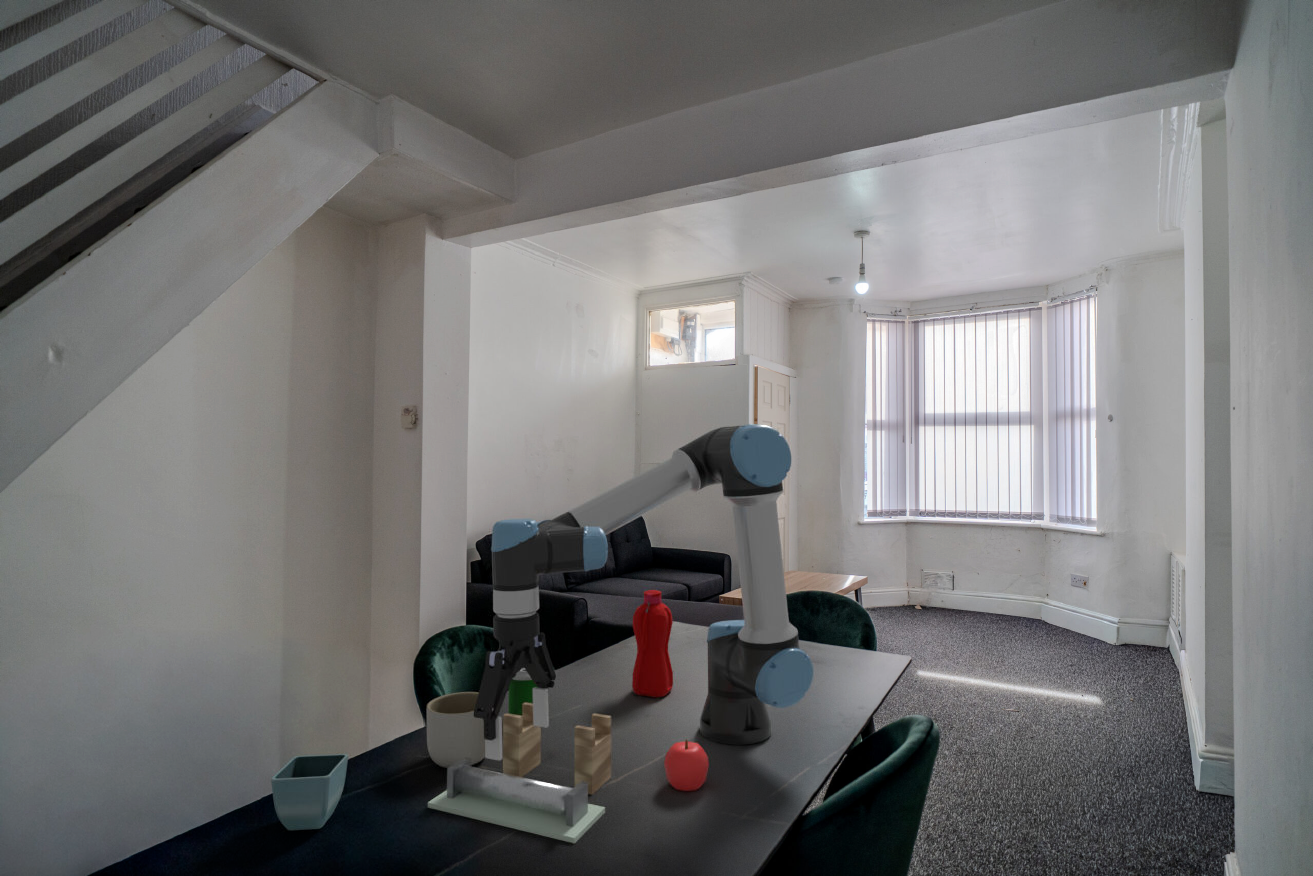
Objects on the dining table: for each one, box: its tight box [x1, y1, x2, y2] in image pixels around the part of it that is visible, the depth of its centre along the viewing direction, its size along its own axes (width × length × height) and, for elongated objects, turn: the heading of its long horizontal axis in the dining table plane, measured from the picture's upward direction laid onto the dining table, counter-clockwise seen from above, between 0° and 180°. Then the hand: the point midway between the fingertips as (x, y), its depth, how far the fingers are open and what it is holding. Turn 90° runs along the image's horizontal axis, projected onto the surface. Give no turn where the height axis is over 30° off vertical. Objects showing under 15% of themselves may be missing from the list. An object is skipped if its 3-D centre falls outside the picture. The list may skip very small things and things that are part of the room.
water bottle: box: [631, 589, 674, 698], centre depth 172 cm, size 9×11×25 cm
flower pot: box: [270, 753, 349, 831], centre depth 111 cm, size 9×9×9 cm
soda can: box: [508, 668, 538, 716], centre depth 153 cm, size 8×8×12 cm
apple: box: [663, 739, 710, 792], centre depth 123 cm, size 8×8×8 cm
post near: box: [574, 713, 612, 796], centre depth 124 cm, size 4×7×11 cm, turn 157°
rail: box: [446, 757, 589, 827], centre depth 115 cm, size 24×5×5 cm, turn 67°
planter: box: [426, 691, 493, 769], centre depth 134 cm, size 12×12×11 cm
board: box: [427, 789, 606, 844], centre depth 115 cm, size 28×10×1 cm, turn 67°
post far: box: [502, 702, 542, 778], centre depth 130 cm, size 4×7×11 cm, turn 157°
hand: (518, 741), depth 115 cm, fingers open, 13 cm apart
